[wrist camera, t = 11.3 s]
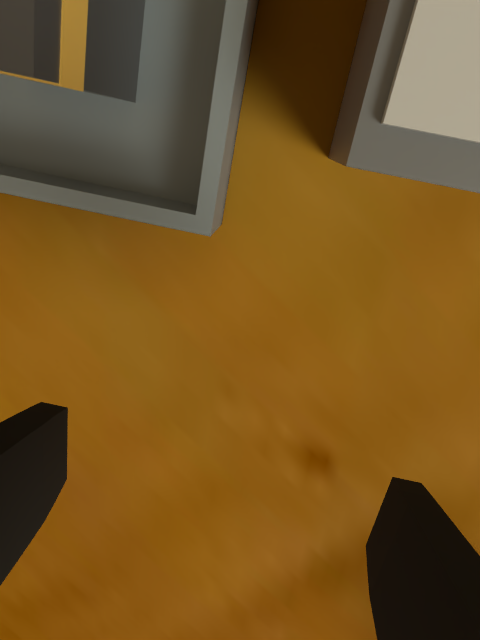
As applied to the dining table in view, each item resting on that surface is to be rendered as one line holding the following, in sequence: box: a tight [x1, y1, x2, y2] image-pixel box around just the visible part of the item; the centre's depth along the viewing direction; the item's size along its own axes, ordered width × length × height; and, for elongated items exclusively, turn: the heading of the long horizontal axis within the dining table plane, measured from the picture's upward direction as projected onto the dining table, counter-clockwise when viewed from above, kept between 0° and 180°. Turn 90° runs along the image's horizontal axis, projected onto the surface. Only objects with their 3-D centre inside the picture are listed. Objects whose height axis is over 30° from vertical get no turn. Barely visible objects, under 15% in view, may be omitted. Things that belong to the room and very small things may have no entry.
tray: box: [0, 0, 259, 236], centre depth 14 cm, size 11×12×2 cm
